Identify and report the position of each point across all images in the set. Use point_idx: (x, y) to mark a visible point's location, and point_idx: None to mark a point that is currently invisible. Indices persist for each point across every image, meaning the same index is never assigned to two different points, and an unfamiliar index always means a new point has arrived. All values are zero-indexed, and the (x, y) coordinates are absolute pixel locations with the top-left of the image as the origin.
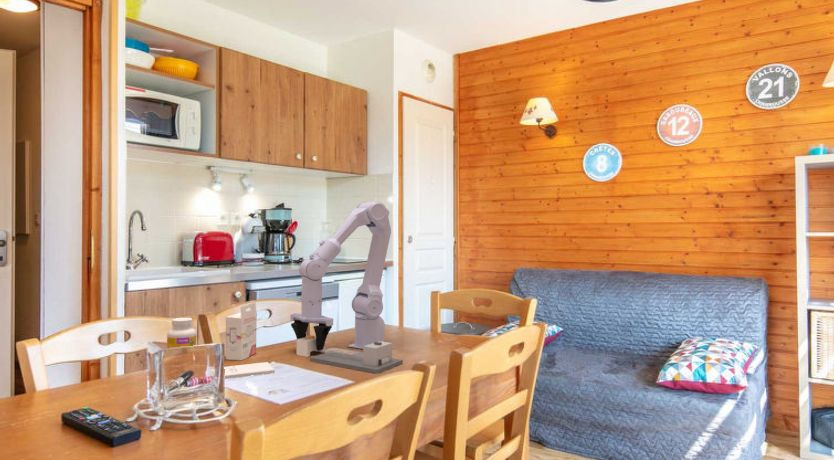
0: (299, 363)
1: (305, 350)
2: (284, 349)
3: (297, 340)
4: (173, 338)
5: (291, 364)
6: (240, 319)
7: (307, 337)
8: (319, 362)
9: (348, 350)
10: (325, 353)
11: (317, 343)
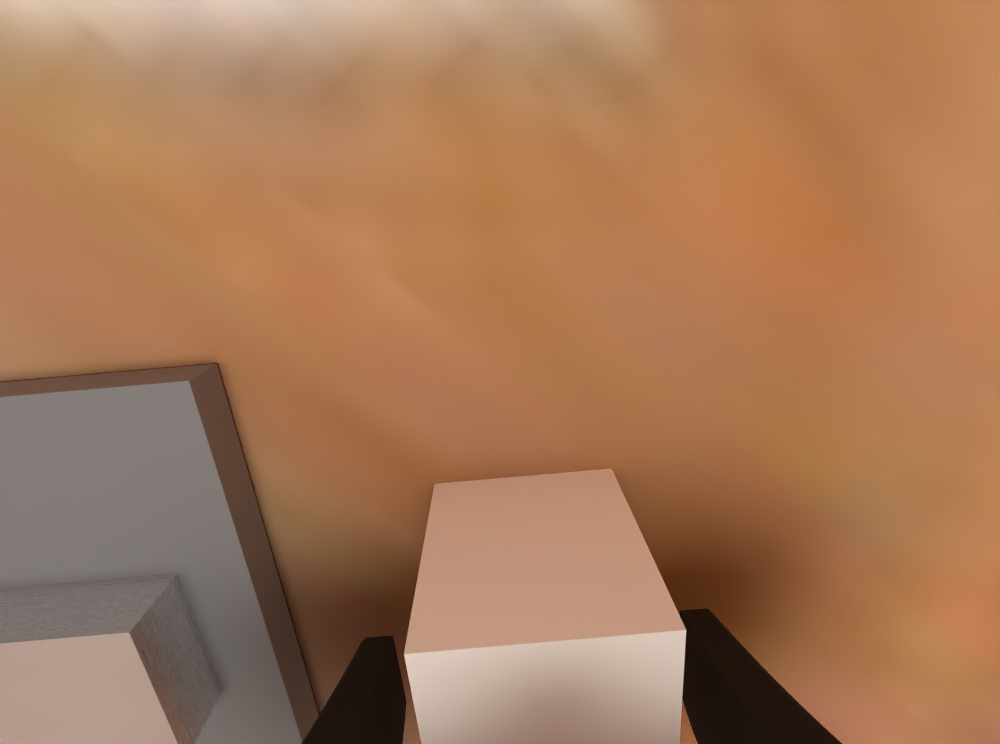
0: (210, 186)
1: (461, 529)
2: (917, 545)
3: (659, 615)
4: None
5: (237, 57)
6: None
7: None
8: (48, 379)
9: None
10: (153, 592)
11: (332, 718)
